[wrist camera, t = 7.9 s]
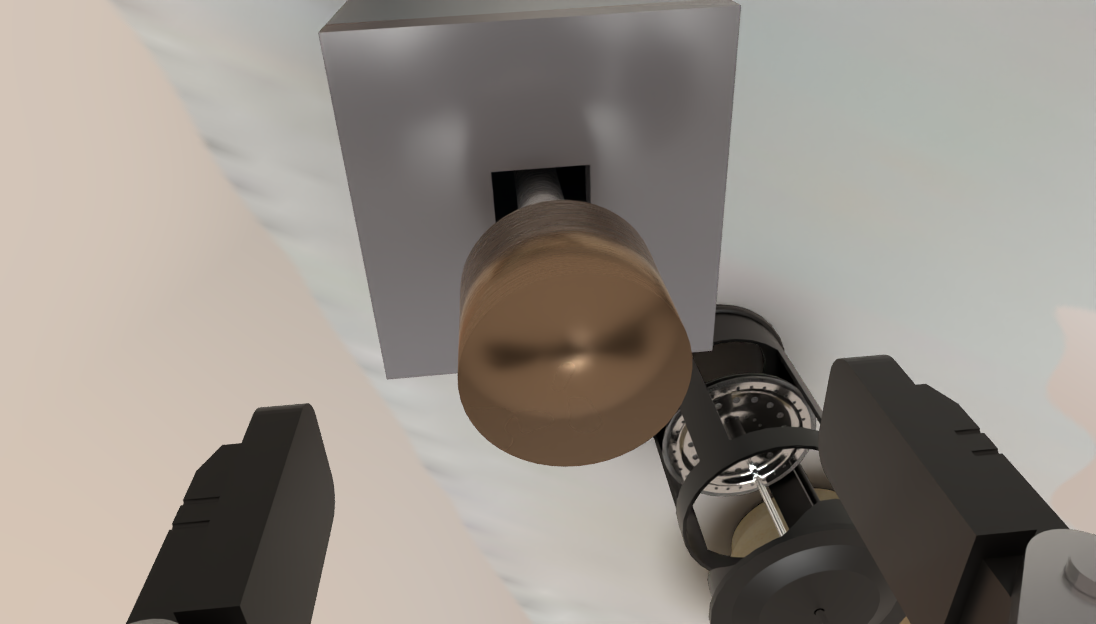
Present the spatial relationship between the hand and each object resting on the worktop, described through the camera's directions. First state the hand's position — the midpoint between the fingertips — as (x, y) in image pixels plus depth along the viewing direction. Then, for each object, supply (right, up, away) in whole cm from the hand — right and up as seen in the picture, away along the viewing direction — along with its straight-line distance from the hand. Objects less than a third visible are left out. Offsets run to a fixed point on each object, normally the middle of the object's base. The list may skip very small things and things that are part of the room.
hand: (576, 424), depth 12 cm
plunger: (-2, +13, +22) cm, 25 cm away
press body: (-2, +14, +23) cm, 27 cm away
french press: (+10, -2, +34) cm, 36 cm away
